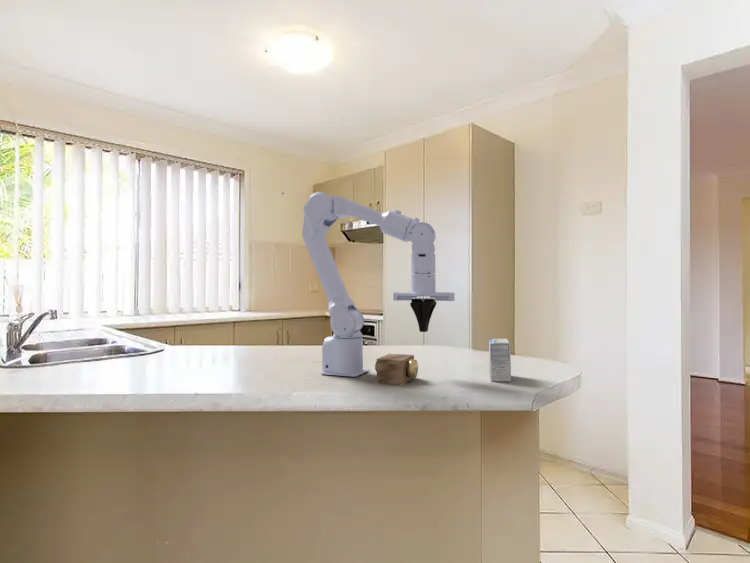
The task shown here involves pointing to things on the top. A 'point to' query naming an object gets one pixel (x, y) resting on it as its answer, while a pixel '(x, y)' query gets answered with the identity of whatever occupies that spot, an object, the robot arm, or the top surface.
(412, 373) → the brass door knob
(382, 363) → the block
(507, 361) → the medicine box
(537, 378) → the top surface
